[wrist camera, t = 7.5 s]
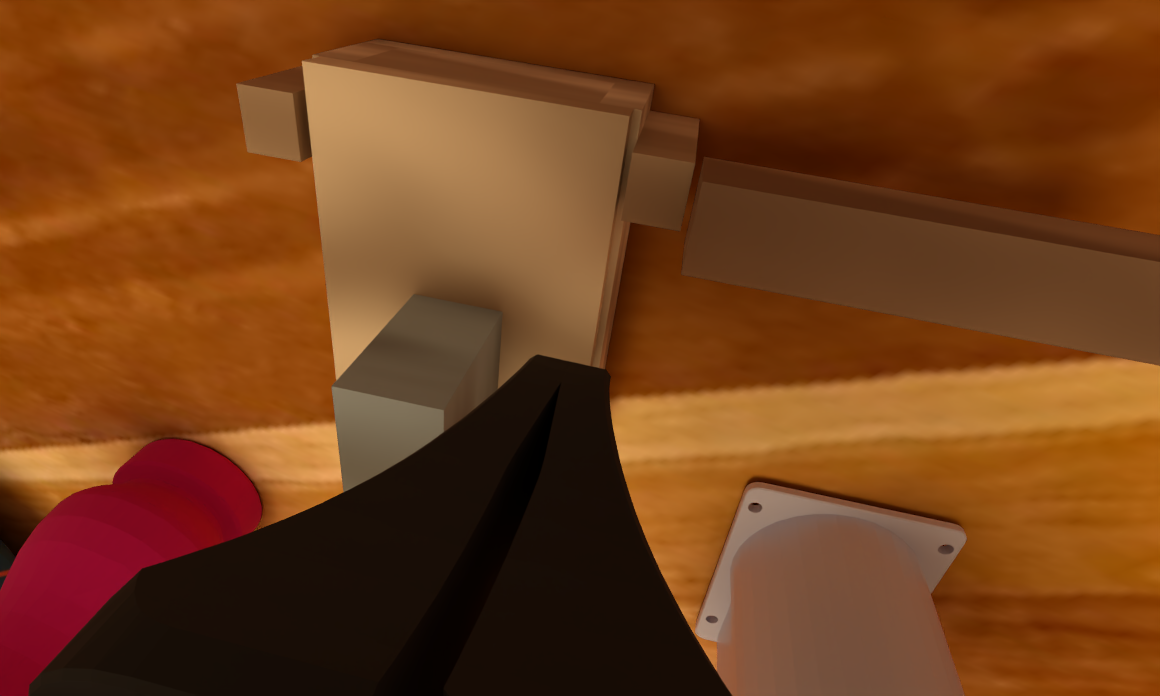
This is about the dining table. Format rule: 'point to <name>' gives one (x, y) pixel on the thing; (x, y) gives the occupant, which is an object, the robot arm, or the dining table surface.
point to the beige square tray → (655, 138)
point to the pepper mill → (114, 546)
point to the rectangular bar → (927, 258)
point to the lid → (453, 243)
